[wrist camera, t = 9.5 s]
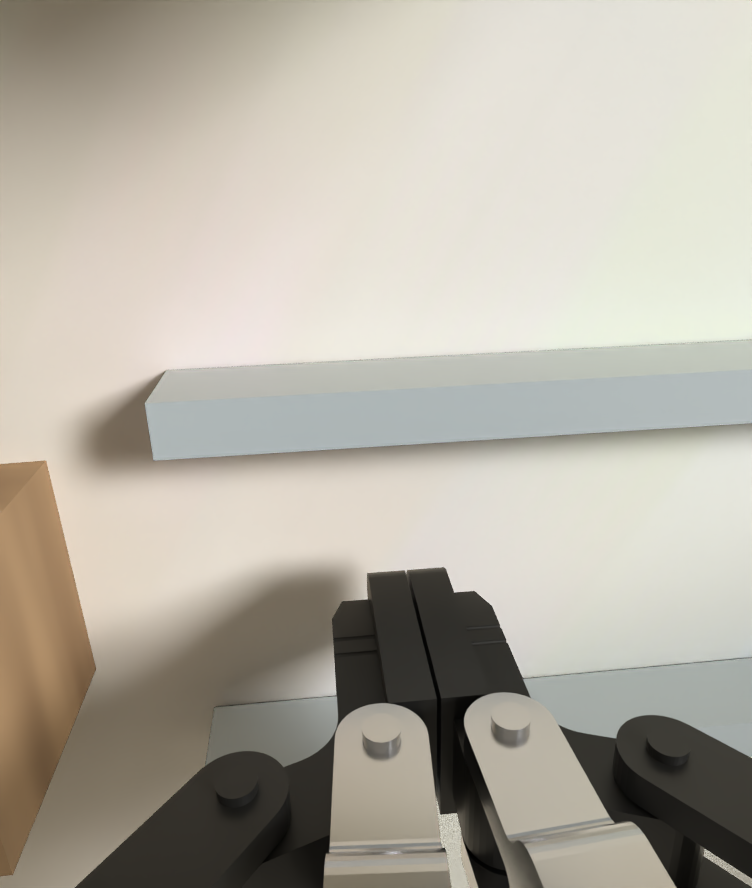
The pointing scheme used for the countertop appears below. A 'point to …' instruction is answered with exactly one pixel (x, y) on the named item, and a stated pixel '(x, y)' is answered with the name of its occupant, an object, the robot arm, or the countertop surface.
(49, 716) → the walnut block
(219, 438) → the guide channel
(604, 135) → the countertop surface
